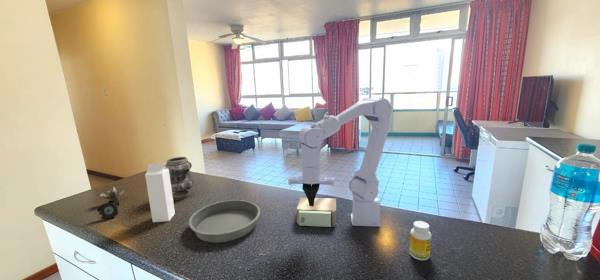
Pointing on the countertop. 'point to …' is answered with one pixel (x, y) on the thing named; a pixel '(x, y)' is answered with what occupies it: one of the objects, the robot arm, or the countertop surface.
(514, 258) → the countertop surface
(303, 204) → the cabinet
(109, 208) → the artificial flower
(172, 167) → the carved stone vase
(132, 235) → the countertop surface
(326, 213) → the door
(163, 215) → the milk
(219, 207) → the cake pan
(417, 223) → the supplement bottle
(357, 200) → the robot arm
